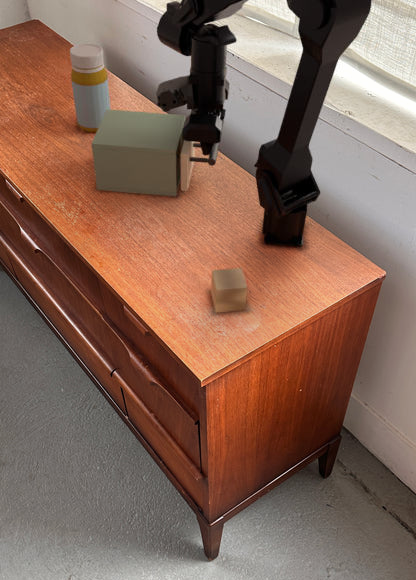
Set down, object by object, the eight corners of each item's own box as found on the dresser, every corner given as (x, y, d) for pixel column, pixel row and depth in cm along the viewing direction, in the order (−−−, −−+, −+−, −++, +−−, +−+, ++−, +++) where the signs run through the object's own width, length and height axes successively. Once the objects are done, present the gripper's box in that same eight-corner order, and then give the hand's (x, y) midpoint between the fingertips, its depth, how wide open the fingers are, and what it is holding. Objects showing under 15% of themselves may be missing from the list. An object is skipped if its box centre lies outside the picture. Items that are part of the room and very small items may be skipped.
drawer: (219, 160, 120) (220, 124, 115) (213, 193, 113) (214, 156, 107) (125, 152, 121) (123, 116, 116) (113, 185, 114) (110, 148, 108)
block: (239, 290, 97) (241, 267, 94) (245, 310, 94) (247, 287, 91) (210, 292, 96) (211, 270, 93) (215, 312, 94) (216, 290, 90)
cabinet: (185, 160, 122) (185, 115, 115) (176, 196, 113) (175, 150, 107) (111, 154, 123) (106, 109, 116) (96, 190, 114) (91, 143, 107)
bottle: (105, 135, 127) (97, 59, 116) (72, 131, 128) (61, 55, 117) (116, 119, 132) (109, 44, 120) (84, 115, 133) (75, 40, 121)
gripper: (167, 39, 108) (169, 125, 120) (149, 87, 96) (153, 178, 108) (231, 44, 108) (227, 130, 119) (222, 93, 95) (218, 183, 107)
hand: (206, 154), depth 113 cm, fingers closed
